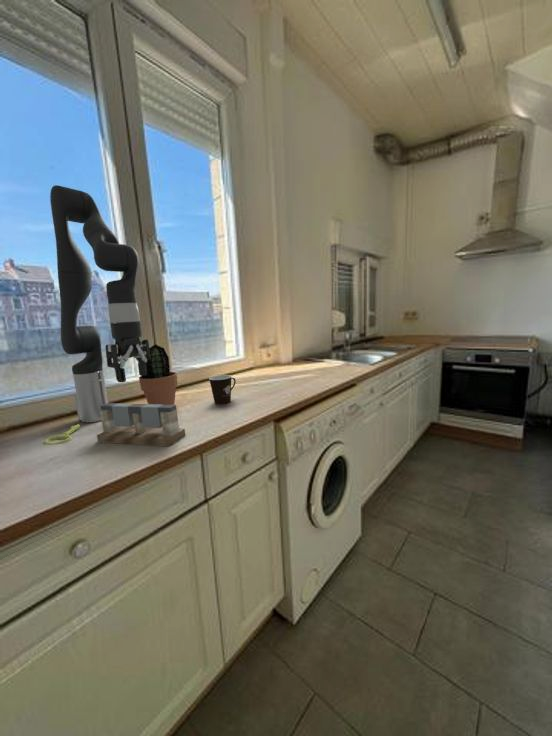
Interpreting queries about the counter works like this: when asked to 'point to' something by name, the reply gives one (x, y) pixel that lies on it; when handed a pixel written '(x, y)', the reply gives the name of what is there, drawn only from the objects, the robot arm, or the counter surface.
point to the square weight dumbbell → (148, 411)
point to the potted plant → (159, 378)
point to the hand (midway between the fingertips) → (132, 378)
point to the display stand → (141, 430)
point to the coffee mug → (221, 388)
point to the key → (62, 436)
